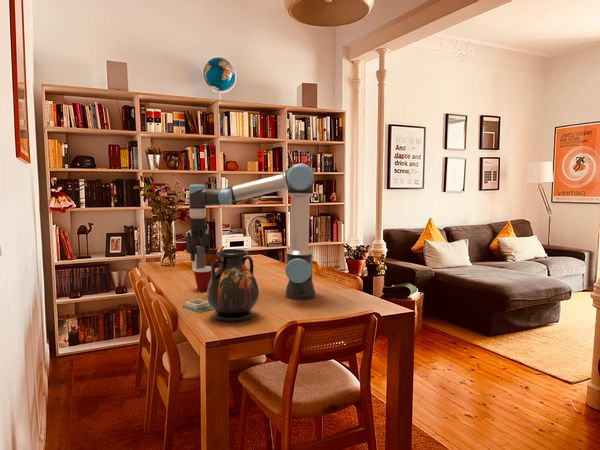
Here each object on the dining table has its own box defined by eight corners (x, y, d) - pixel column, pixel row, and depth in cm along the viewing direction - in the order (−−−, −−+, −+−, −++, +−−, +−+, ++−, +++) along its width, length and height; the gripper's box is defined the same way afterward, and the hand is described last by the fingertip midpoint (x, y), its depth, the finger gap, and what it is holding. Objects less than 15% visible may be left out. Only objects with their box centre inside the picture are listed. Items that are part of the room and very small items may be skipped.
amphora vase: (221, 329, 172) (220, 257, 169) (199, 315, 189) (197, 250, 187) (269, 319, 185) (268, 252, 182) (243, 307, 202) (243, 246, 199)
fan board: (216, 308, 201) (216, 301, 200) (200, 312, 194) (200, 305, 193) (198, 303, 209) (198, 296, 209) (182, 307, 202) (182, 300, 202)
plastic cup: (193, 293, 226) (193, 270, 225) (192, 288, 237) (191, 266, 236) (215, 292, 230) (214, 269, 228) (213, 287, 240) (212, 265, 239)
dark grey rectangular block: (205, 267, 210) (204, 246, 209) (197, 268, 207) (197, 247, 206) (198, 266, 213) (198, 245, 212) (191, 267, 210) (191, 246, 209)
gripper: (207, 216, 216) (208, 263, 219) (177, 218, 204) (178, 268, 206) (217, 216, 211) (218, 265, 214) (186, 219, 199) (188, 270, 201)
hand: (198, 267), depth 210 cm, fingers closed on dark grey rectangular block, 4 cm apart
